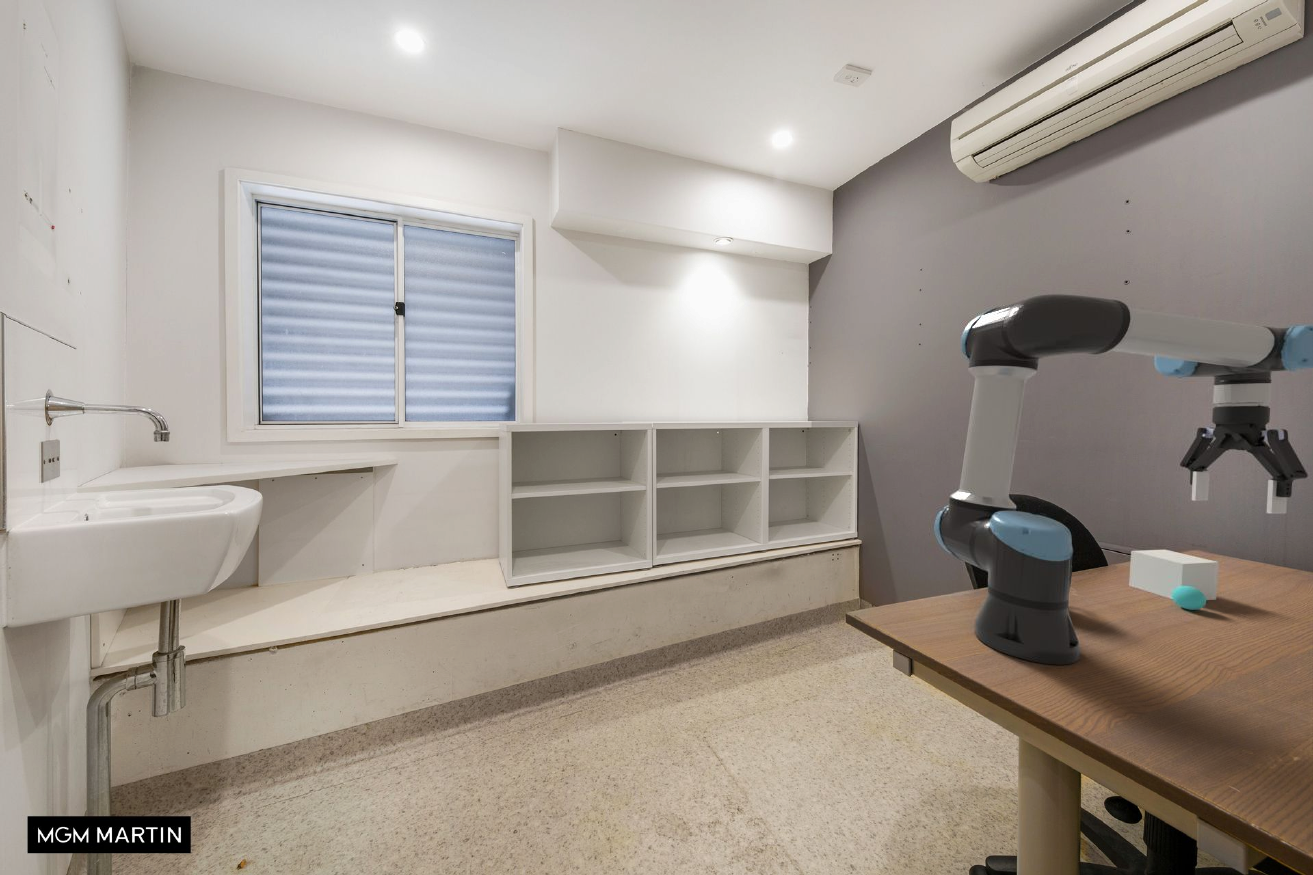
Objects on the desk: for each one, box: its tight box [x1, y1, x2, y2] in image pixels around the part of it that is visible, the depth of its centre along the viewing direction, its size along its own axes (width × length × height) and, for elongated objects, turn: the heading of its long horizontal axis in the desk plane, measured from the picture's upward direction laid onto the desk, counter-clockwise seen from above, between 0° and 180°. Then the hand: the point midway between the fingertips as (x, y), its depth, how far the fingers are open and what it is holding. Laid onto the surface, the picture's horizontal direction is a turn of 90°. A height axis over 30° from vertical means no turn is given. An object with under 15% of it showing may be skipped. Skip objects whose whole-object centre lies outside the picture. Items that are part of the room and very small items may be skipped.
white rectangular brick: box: [1128, 549, 1220, 601], centre depth 113 cm, size 10×10×9 cm
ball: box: [1172, 586, 1207, 611], centre depth 103 cm, size 5×5×5 cm
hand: (1235, 506), depth 99 cm, fingers open, 13 cm apart
